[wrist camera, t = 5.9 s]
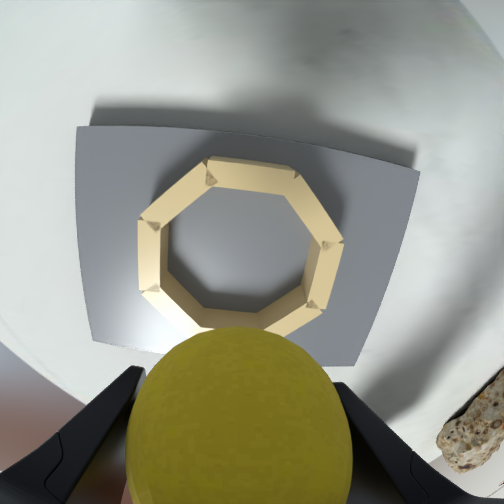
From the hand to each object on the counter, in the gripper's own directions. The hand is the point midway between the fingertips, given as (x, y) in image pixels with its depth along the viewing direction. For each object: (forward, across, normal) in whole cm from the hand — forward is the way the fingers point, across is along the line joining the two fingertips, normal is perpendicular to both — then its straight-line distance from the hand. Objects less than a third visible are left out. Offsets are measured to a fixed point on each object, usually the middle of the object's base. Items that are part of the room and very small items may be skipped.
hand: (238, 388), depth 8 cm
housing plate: (+11, 0, +1) cm, 11 cm away
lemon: (+2, 0, 0) cm, 2 cm away
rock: (+12, -40, +20) cm, 46 cm away
